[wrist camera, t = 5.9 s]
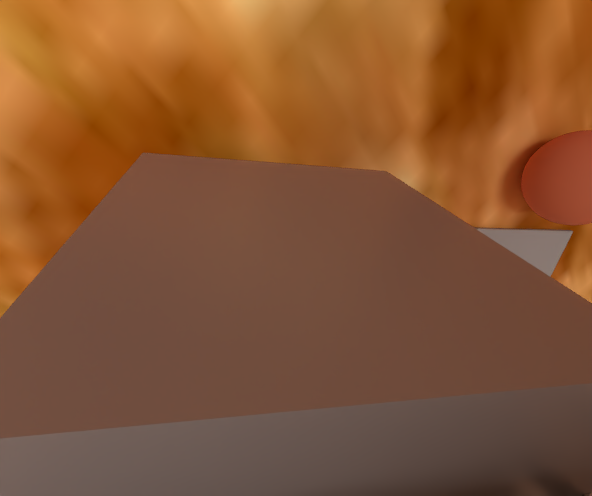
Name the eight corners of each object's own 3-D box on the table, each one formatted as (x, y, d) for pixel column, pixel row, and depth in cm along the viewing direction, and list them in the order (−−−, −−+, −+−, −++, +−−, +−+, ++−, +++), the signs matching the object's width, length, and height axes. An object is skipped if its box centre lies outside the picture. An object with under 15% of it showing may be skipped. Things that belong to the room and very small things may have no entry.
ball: (588, 128, 20) (692, 143, 16) (551, 208, 22) (634, 240, 18) (520, 120, 19) (613, 134, 15) (489, 205, 21) (561, 239, 17)
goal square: (570, 230, 24) (573, 231, 23) (514, 342, 28) (516, 343, 28) (446, 227, 21) (449, 228, 21) (406, 350, 25) (407, 352, 25)
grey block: (386, 171, 12) (701, 373, 4) (344, 342, 15) (470, 624, 7) (143, 152, 10) (-113, 449, 2) (159, 351, 13) (78, 732, 6)
